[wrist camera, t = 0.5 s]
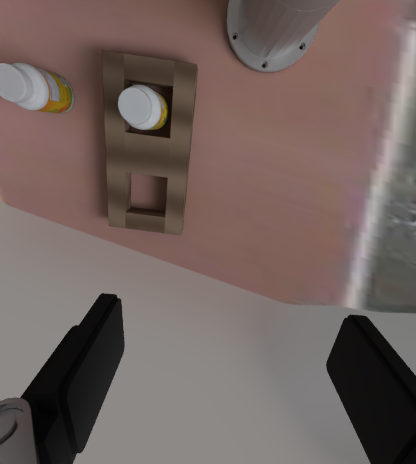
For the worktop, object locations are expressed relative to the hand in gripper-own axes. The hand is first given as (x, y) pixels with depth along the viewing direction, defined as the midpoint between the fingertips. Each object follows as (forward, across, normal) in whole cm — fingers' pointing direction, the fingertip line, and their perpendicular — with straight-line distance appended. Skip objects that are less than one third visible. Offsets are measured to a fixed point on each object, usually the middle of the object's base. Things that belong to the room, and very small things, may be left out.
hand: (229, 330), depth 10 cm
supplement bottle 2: (+35, +11, -10) cm, 38 cm away
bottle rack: (+34, +12, -3) cm, 36 cm away
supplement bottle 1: (+35, +26, -11) cm, 45 cm away
